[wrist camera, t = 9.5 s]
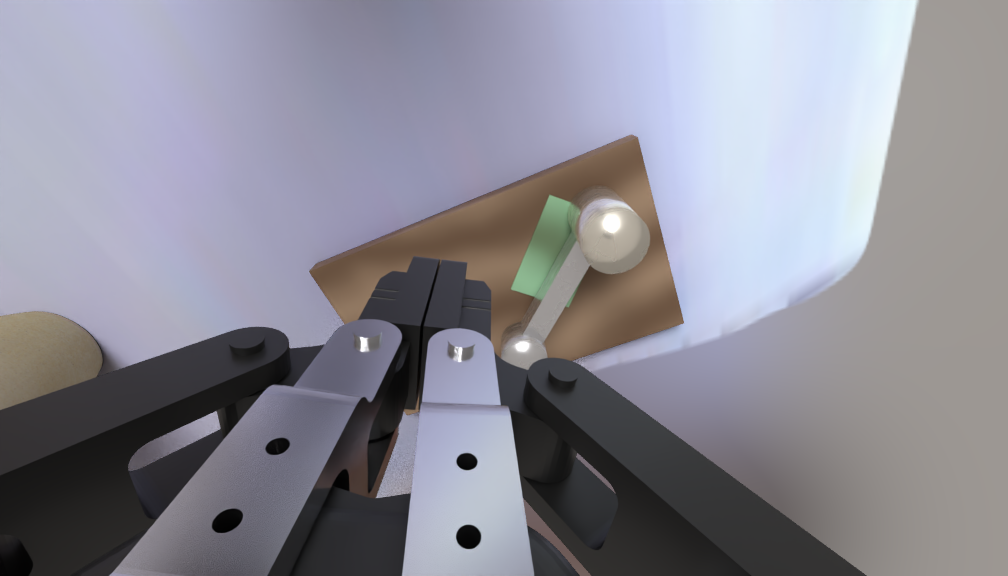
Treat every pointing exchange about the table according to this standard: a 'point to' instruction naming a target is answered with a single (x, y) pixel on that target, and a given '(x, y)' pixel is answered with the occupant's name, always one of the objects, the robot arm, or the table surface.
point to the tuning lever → (578, 267)
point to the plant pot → (43, 356)
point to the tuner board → (529, 256)
